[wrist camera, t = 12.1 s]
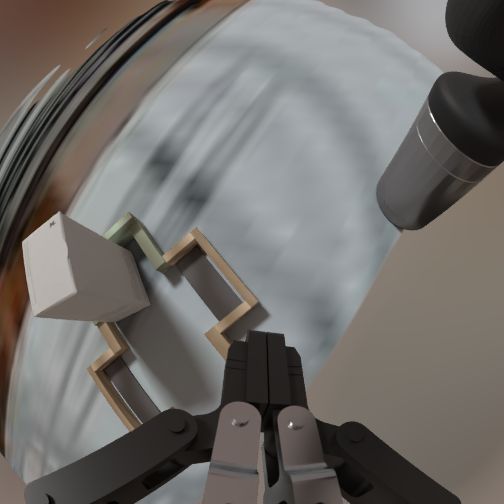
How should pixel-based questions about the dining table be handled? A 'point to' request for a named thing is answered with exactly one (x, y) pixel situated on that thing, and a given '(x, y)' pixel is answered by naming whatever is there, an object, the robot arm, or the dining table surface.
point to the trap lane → (206, 287)
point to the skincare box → (80, 274)
